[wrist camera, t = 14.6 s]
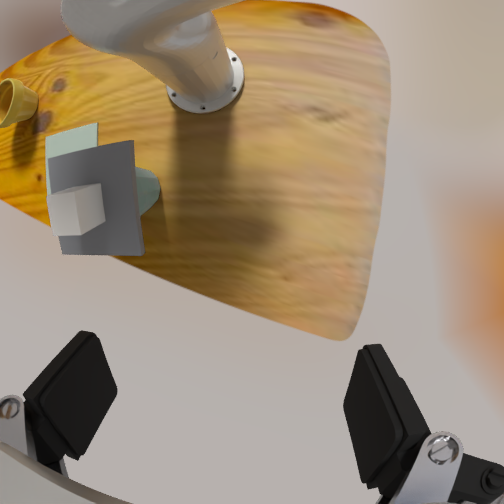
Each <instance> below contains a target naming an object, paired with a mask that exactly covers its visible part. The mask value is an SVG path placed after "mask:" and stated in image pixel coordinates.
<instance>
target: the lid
mask: <svg viewBox="0 0 504 504" xmlns="http://www.w3.org/2000/svg"><path fill="white" fill-rule="evenodd" d="M48 169H49V179H50V188H51V195H48V196H46V198H47V205H48V211H49V217H50V222H51V228H52V232H53V236H59V241H60V245H61V250H62V254H69V255H71V254H74V255H120V256H142V255H143V254H144V253H145V248H144V242H143V235H142V228H141V220H140V212H139V203H138V194H137V183H136V171H135V156H134V140H129V141H123V142H117V143H112V144H107V145H102V146H97V147H92V148H88V149H83V150H79V151H75V152H71V153H67V154H63V155H59V156H56V157H52V158H48Z"/></svg>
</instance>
